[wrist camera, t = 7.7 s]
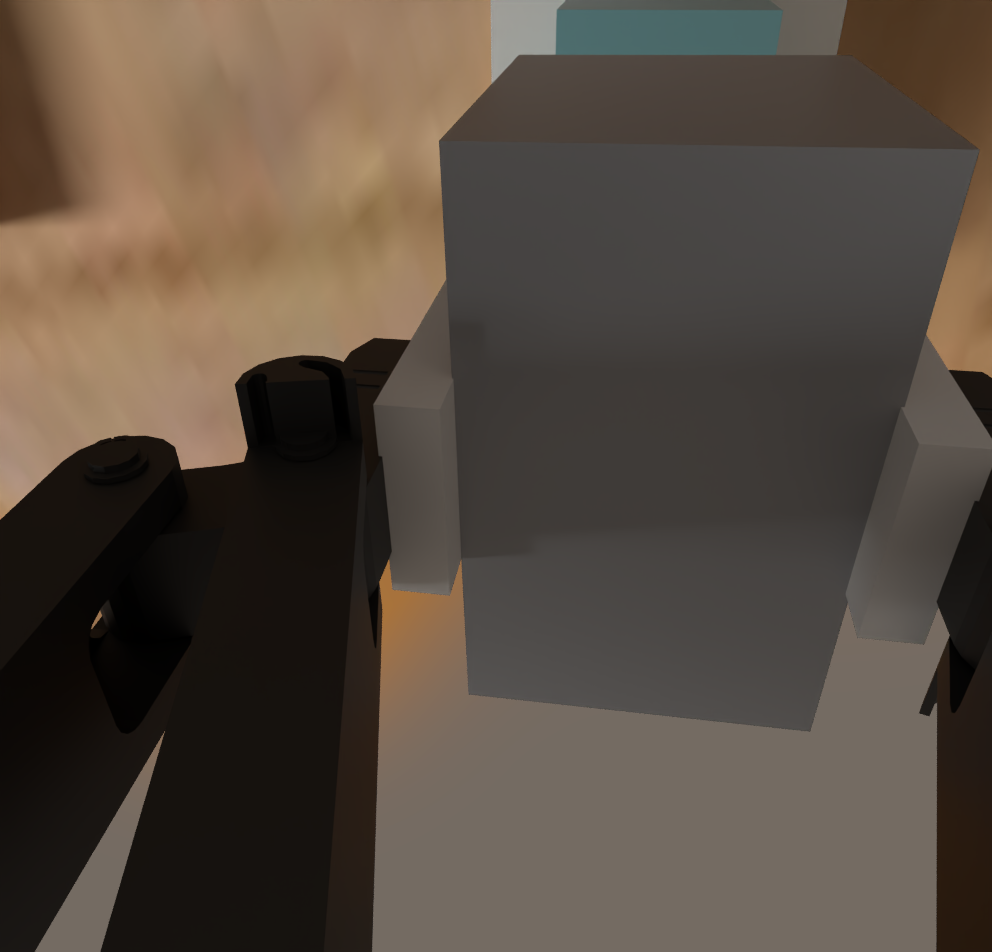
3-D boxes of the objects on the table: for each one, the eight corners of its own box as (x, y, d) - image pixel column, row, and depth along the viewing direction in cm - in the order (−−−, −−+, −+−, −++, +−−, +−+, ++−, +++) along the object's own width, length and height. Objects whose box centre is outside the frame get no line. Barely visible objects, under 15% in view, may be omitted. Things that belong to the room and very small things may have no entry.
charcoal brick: (520, 476, 18) (468, 694, 13) (518, 54, 13) (439, 140, 8) (764, 493, 17) (809, 731, 12) (850, 55, 12) (980, 148, 8)
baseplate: (497, 306, 30) (494, 312, 30) (493, -94, 24) (489, -94, 23) (781, 320, 29) (783, 327, 29) (862, -99, 22) (866, -99, 22)
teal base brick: (566, 261, 28) (548, 333, 24) (576, -11, 24) (556, 9, 19) (716, 267, 28) (729, 343, 23) (756, -10, 23) (782, 10, 18)
